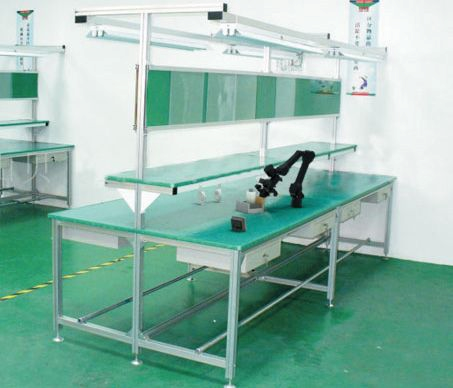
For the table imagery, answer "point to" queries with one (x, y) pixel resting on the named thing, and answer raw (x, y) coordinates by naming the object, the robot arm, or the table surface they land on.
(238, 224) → the electrical switch
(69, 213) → the table surface
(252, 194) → the bottle
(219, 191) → the headset
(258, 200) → the grey and tan box
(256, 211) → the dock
